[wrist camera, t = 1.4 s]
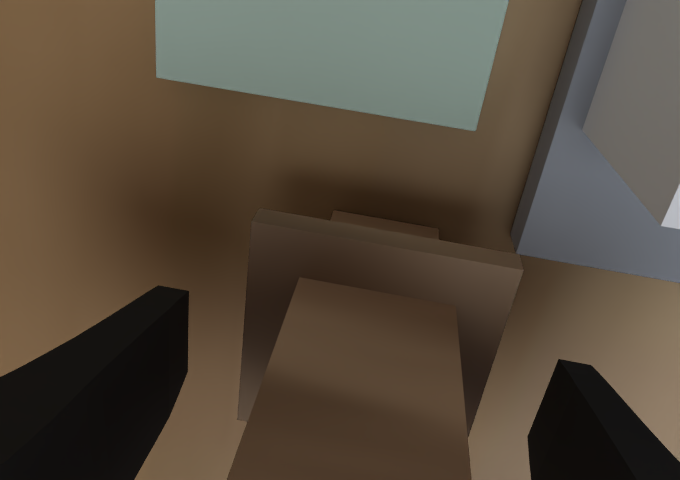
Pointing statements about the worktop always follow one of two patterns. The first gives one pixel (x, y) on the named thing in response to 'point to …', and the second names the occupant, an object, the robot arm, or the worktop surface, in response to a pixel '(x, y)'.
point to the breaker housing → (611, 146)
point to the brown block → (365, 348)
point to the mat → (339, 52)
